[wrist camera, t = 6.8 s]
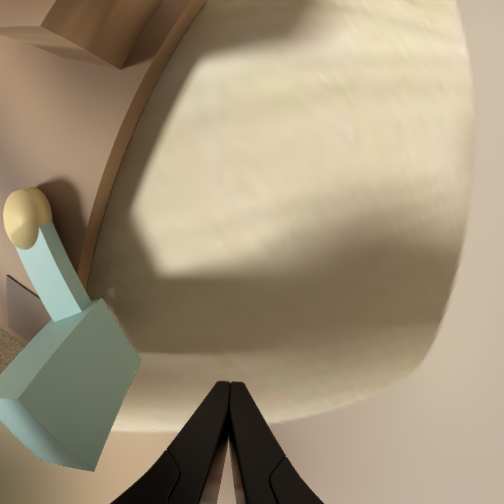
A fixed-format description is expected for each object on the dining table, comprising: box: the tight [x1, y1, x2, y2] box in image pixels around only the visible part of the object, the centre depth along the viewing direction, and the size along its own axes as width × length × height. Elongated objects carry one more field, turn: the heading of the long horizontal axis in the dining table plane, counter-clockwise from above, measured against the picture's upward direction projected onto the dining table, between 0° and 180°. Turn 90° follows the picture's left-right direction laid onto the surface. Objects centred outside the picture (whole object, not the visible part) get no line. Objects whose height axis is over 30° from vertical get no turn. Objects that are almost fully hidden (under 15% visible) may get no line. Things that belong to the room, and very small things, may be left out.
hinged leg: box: [0, 187, 142, 472], centre depth 7 cm, size 8×3×6 cm, turn 21°
